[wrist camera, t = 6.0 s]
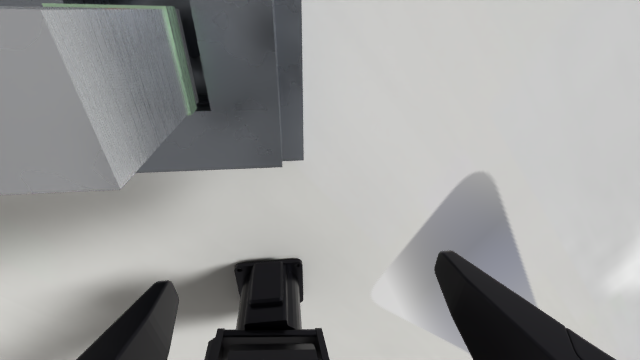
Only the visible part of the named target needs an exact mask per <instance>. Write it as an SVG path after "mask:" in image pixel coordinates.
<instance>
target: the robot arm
mask: <svg viewBox="0 0 640 360" xmlns="http://www.w3.org/2000/svg"><path fill="white" fill-rule="evenodd" d="M239 268H240V269H239ZM234 271H235V275H236V280H237V285H238V289H239V294H240V305H239V312H238V319H237V326H236V330H225V329H218V330H217V334H216V337H215V338H213V340H211V341H209V342H208V347H207V351H206V356H205V360H329V356H328V352H327V348H326V344H325V340H324V336H323V332H322V328H315V329H302V326H301V310H300V302H302V301H303V271H302V261H301V260H300V259H290V260H277V261H264V262H251V263H239V264H236V266H235V270H234ZM435 274H436V277H437V279H438V282H439V285H440V287H441V290H442V293H443V295H444V298H445V301H446V303H447V306H448V308H449V311H450V313H451V316H452V318H453V320H454V322H455V324H456V326H457V328H458V330H459V332H460V334H461V336H462V338H463V340H464V342H465V344H466V346H467V348H468V350H469V352H470V354H471V356H472V358H473V360H616V359H614V358H613V357H611V356H609V355H608V354H606V353H605V352H603V351H602V350H600V349H599V348H597V347H595V346H594V345H592V344H591V343H589V342H588V341H586V340H585V339H583V338H582V337H580V336H579V335H577V334H576V333H574V332H573V331H571V330H570V329H568V328H565V326H564V325H562V324H561V323H559V322H558V321H556V320H555V319H553V318H552V317H550V316H549V315H547V314H546V313H544V312H543V311H541V310H540V309H538V308H537V307H535V306H534V305H532V304H531V303H529V302H528V301H526V300H525V299H524V298H522V297H521V296H519V295H518V294H516V293H514V292H513V291H511V290H510V289H509V288H507V287H506V286H504V285H503V284H501V283H500V282H498V281H497V280H495V279H493V278H492V277H491V276H489V275H488V274H486V273H485V272H483V271H482V270H480V269H479V268H477V267H476V266H474V265H473V264H471V263H470V262H468V261H467V260H466V259H464V258H463V257H461V256H459V255H458V254H457V253H455V252H453V251H441V252H440V253H439V254H438V257H437V261H436V264H435ZM178 303H179V298H178V295H177V292H176V290H175V288H174V286H173V284H172V282H171V281H169V280H167V281H158V282H156V283H154V284H153V285H152V286H151V287H150V288H149V289H148V290H147V291H146V292H145V293H144V294H143V295H142V296H141V297H140V298H139V299H138V300H137V301H136V302H135V303H134V304H133V305H132V306H131V307H130V308H129V309H128V310H127V311H126V312H125V313H123V314H122V315H121V316H120V317H119V318H118V319H117V320H116V321H115V322H114V323H113V324H112V325H111V326H110V327H109V328H108V329H107V330H106V331H105V332H104V333H103V334H102V335H101V336H100V337H99V338H98V339H97V340H96V341H95V342H94V343H93V344H92V345H91V346H90V347H89V348H88V349H87V350H86V351H85V352H84V353H83V354H82V355H80V356H79V357H78V358H77V359H76V360H167V357H168V354H169V349H170V345H171V340H172V334H173V329H174V324H175V319H176V314H177V308H178Z"/></svg>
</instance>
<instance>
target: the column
mask: <svg viewBox="0 0 640 360" xmlns="http://www.w3.org/2000/svg"><path fill="white" fill-rule="evenodd" d="M42 5H43V7H38V6H0V195H14V194H35V193H57V192H79V191H101V190H120V189H121V188H122V187H123V186H124V185H125V184H126V183H127V182H128V180H129V179H130V178H131V177H132V176H133V175H134V174H135V173H136V172H137V170H138V169H139V168H140V167H141V166H142V165H143V164H144V163H145V161H146V160H147V159H148V158H149V157H150V156H151V155H152V154H153V153H154V151H155V150H156V149H157V148H158V147H159V146H160V145H161V144H162V142H163V141H164V140H165V139H166V138H167V137H168V136H169V135H170V134H171V132H172V131H173V130H174V129H175V128H176V127H177V126H178V125H179V123H180V122H181V121H182V120H183V119H184V118H185V117H186V116H187V115H192V114H193V113H194V112H195V111H196V109H197V105H196V104H197V103H198V102H199V100H198V96H197V91H196V86H195V82H194V77H193V73H192V68H191V63H190V59H189V54H188V49H187V45H186V40H185V36H184V31H183V26H182V22H181V17H180V12H179V9H175V7H174V6H143V5H100V4H56V3H42Z"/></svg>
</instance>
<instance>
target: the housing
mask: <svg viewBox="0 0 640 360" xmlns="http://www.w3.org/2000/svg"><path fill="white" fill-rule="evenodd" d="M42 3H56V4H100V5H143V6H174V7H175V9H179V12H180V17H181V22H182V26H183V31H184V36H185V40H186V45H187V49H188V54H189V59H190V63H191V68H192V73H193V77H194V82H195V86H196V91H197V96H198V100H199V102H198V103H197V104H196V105H197V109H196V111H195V112H194V113H193V114H192V115H187V116H186V117H185V118H184V119H183V120H182V121H181V122H180V123H179V125H178V126H177V127H176V128H175V129H174V130H173V131H172V132H171V134H170V135H169V136H168V137H167V138H166V139H165V140H164V141H163V142H162V144H161V145H160V146H159V147H158V148H157V149H156V150H155V151H154V153H153V154H152V155H151V156H150V157H149V158H148V159H147V160H146V161H145V163H144V164H143V165H142V166H141V167H140V168H139V169H138V170H137V172H136V173H145V172H171V171H196V170H221V169H246V168H271V167H282V161H296V160H304V157H303V86H302V16H301V0H0V6H38V7H43V5H42Z"/></svg>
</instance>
